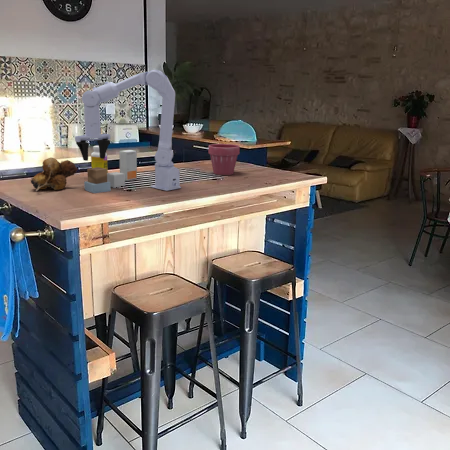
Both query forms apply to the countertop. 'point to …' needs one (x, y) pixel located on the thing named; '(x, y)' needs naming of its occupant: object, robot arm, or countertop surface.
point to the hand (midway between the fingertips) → (94, 159)
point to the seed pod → (53, 174)
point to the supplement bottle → (98, 159)
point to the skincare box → (128, 164)
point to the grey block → (116, 179)
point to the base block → (97, 187)
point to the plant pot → (223, 158)
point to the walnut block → (97, 175)
